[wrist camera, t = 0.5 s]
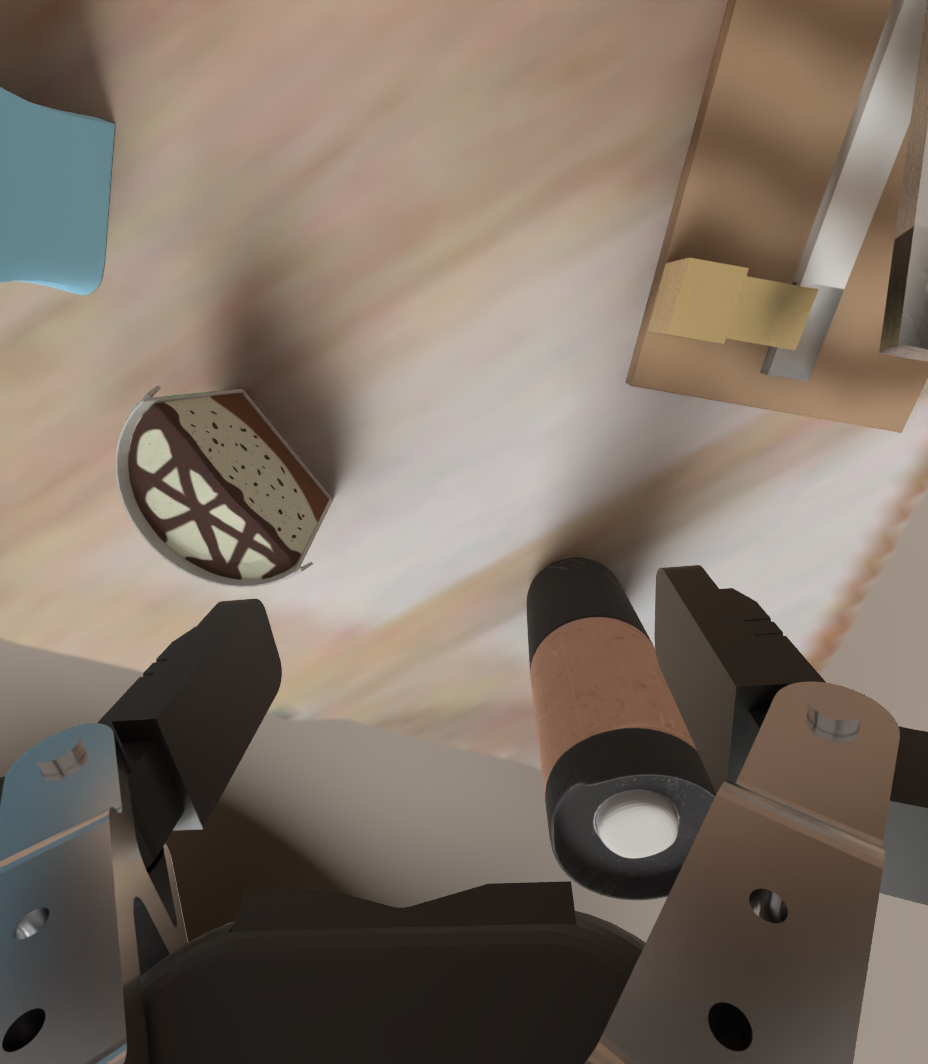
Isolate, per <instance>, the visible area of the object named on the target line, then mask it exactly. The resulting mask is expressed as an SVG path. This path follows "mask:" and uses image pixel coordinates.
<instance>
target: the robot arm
mask: <svg viewBox="0 0 928 1064" xmlns="http://www.w3.org/2000/svg"><path fill="white" fill-rule="evenodd" d="M655 648H656V655H657V659H658V663H659V667H660V669H661V672H662V674H663V676H664V678H665V680H666V683H667V685H668V687H669V689H670V692H671V694H672V696H673V698H674V700H675V703H676V705H677V707H678V709H679V712H680V714H681V716H682V718H683V720H684V723H685V725H686V727H687V729H688V732H689V734H690V736H691V738H692V740H693V743H694V745H695V747H696V749H697V752H698V754H699V756H700V758H701V760H702V763H703V765H704V767H705V769H706V772H707V774H708V776H709V778H710V780H711V783H712V785H713V787H714V789H715V792H716V796H715V798H714V800H713V803H712V805H711V807H710V809H709V811H708V813H707V815H706V817H705V819H704V822H703V824H702V826H701V828H700V830H699V832H698V834H697V836H696V838H695V840H694V843H693V845H692V847H691V849H690V851H689V853H688V855H687V857H686V859H685V862H684V864H683V866H682V868H681V870H680V872H679V874H678V876H677V878H676V881H675V883H674V885H673V887H672V889H671V891H670V893H669V895H668V897H667V899H666V902H665V904H664V906H663V908H662V910H661V912H660V914H659V916H658V919H657V921H656V923H655V925H654V927H653V929H652V931H651V933H650V935H649V938H648V940H647V942H646V943H645V942H643V941H642V940H641V939H639V938H638V937H636V936H635V935H633V934H631V933H629V932H627V931H625V930H623V929H622V928H620V927H618V926H616V925H614V924H612V923H610V922H607V921H605V920H602V919H599V918H597V917H594V916H592V915H589V914H585V913H581V912H577V911H575V910H574V902H573V895H572V887H571V882H538V883H503V884H486V885H483V886H479V887H476V888H472V889H469V890H466V891H462V892H459V893H456V894H452V895H448V896H445V897H442V898H438V899H435V900H432V901H428V902H424V903H421V904H418V905H414V906H411V907H406V908H396V907H391V906H387V905H383V904H380V903H376V902H372V901H368V900H365V899H361V898H357V897H353V896H350V895H346V894H342V893H338V892H334V891H331V890H327V889H291V890H257V891H247V893H246V895H245V898H244V900H243V903H242V905H241V907H240V910H239V912H238V915H237V917H236V920H235V922H232V923H229V924H226V925H224V926H222V927H219V928H217V929H214V930H212V931H209V932H207V933H206V934H204V935H202V936H200V937H198V938H196V939H195V940H192V941H191V942H189V943H188V941H187V936H186V930H185V925H184V920H183V915H182V910H181V905H180V900H179V895H178V890H177V885H176V880H175V875H174V869H173V864H172V859H171V855H170V852H169V850H168V848H167V846H166V844H165V842H166V841H167V839H168V837H169V835H170V834H171V832H172V831H173V830H196V829H203V828H204V827H205V825H206V823H207V821H208V819H209V817H210V815H211V814H212V812H213V810H214V808H215V806H216V804H217V803H218V801H219V799H220V797H221V795H222V793H223V792H224V790H225V788H226V786H227V784H228V782H229V781H230V779H231V777H232V775H233V773H234V771H235V770H236V768H237V766H238V764H239V762H240V761H241V759H242V757H243V755H244V753H245V751H246V749H247V748H248V746H249V744H250V742H251V740H252V738H253V737H254V735H255V733H256V731H257V729H258V727H259V726H260V724H261V722H262V720H263V718H264V716H265V715H266V713H267V711H268V709H269V707H270V705H271V704H272V702H273V700H274V698H275V696H276V694H277V692H278V690H279V687H280V683H281V676H282V669H281V662H280V658H279V654H278V651H277V647H276V644H275V641H274V637H273V634H272V631H271V627H270V624H269V620H268V617H267V614H266V610H265V607H264V605H263V604H262V602H261V601H260V600H258V599H247V600H234V601H222V602H219V603H218V604H216V606H215V607H214V608H213V609H212V610H211V611H210V612H209V613H208V614H207V616H206V617H205V618H204V619H203V620H202V621H201V622H200V623H199V624H198V626H197V627H195V628H193V629H191V630H190V631H188V632H187V633H185V634H184V635H182V636H181V637H179V638H178V639H176V640H175V641H173V642H172V643H171V644H170V645H169V646H168V647H167V648H166V649H165V651H164V652H163V653H162V654H161V655H160V656H159V657H158V658H157V659H156V660H157V662H156V663H152V665H151V666H150V667H149V668H148V669H147V670H146V671H145V672H144V673H143V677H140V678H139V679H138V680H137V681H136V682H135V683H134V684H133V685H132V686H131V687H130V688H129V689H128V690H127V692H126V693H125V694H124V695H123V696H122V697H121V698H120V699H119V700H118V701H117V702H116V703H115V704H114V705H113V707H112V708H111V709H110V710H109V711H108V712H107V713H106V714H105V715H104V716H103V717H102V718H101V720H100V721H99V722H98V723H93V724H84V725H79V726H76V727H72V728H69V729H67V730H64V731H61V732H59V733H57V734H55V735H52V736H51V737H49V738H47V739H45V740H43V741H42V742H40V743H39V744H37V745H35V746H34V747H32V748H31V749H30V750H28V751H27V752H26V753H25V754H23V755H22V756H21V757H20V758H19V759H18V760H17V761H16V762H15V763H14V764H13V765H12V767H11V768H10V769H9V771H8V773H7V774H6V776H5V777H1V778H0V1064H853V1060H854V1052H855V1047H856V1040H857V1034H858V1027H859V1021H860V1015H861V1007H862V1001H863V995H864V989H865V982H866V976H867V969H868V963H869V957H870V950H871V944H872V937H873V931H874V924H875V918H876V911H877V905H878V899H879V893H882V894H886V895H890V896H894V897H898V898H902V899H906V900H910V901H913V902H917V903H921V904H925V905H928V732H925V731H919V730H913V729H908V728H903V727H899V726H898V724H897V722H896V721H895V719H894V718H893V716H892V715H891V714H890V713H889V712H888V711H887V710H886V709H885V708H884V707H882V706H881V705H880V704H879V703H877V702H876V701H874V700H873V699H871V698H869V697H867V696H865V695H863V694H861V693H859V692H856V691H854V690H852V689H849V688H846V687H843V686H839V685H835V684H830V683H826V682H825V681H824V680H823V678H822V677H821V676H820V675H819V674H818V673H817V671H816V670H815V669H814V668H813V667H812V666H811V665H810V663H809V662H808V661H807V660H806V659H805V658H804V656H803V655H802V654H801V653H800V652H799V651H798V649H797V648H796V647H795V646H794V645H793V644H792V643H791V641H790V640H789V639H788V638H787V637H786V636H783V632H782V631H781V630H780V629H779V627H778V626H777V625H776V624H775V623H774V622H771V618H770V617H769V616H768V615H767V614H766V612H765V611H764V610H763V609H762V608H761V607H760V606H759V604H758V603H757V602H756V601H754V600H752V599H751V598H749V597H747V596H745V595H743V594H742V593H740V592H738V591H736V590H735V589H733V588H729V589H719V588H718V587H717V586H716V584H715V583H714V582H713V581H712V579H711V578H710V577H709V575H708V574H707V573H706V571H705V570H704V569H703V568H702V567H701V566H700V565H694V566H682V567H669V568H660V569H659V570H658V572H657V576H656V602H655Z"/></svg>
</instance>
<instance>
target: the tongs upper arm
mask: <svg viewBox="0 0 928 1064" xmlns="http://www.w3.org/2000/svg"><path fill="white" fill-rule="evenodd" d="M879 353H881V354H887V355H893V356H898V357H904V358H910V359H915V360H921V361H927V362H928V0H927V3H926V11H925V18H924V25H923V33H922V40H921V47H920V55H919V62H918V70H917V77H916V84H915V92H914V99H913V107H912V114H911V121H910V129H909V136H908V143H907V151H906V158H905V166H904V173H903V180H902V188H901V195H900V203H899V210H898V217H897V225H896V232H895V239H894V247H893V254H892V262H891V269H890V276H889V284H888V291H887V299H886V306H885V313H884V321H883V328H882V335H881V343H880V350H879Z"/></svg>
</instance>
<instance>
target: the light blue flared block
mask: <svg viewBox="0 0 928 1064" xmlns="http://www.w3.org/2000/svg"><path fill="white" fill-rule="evenodd" d="M114 132H115V124H114V123H111V122H109V121H106V120H103V119H101V118H98V117H93V116H87V115H82V114H76V113H71V112H66V111H61V110H57V109H53V108H49V107H45V106H42V105H38V104H34V103H31V102H29V101H26V100H24V99H22V98H20V97H18V96H16V95H15V94H13V93H11V92H9V91H7V90H5V89H3V88H2V87H0V282H9V281H21V282H29V283H35V284H40V285H45V286H49V287H53V288H57V289H61V290H64V291H68V292H71V293H75V294H79V295H88V294H90V293H92V292H93V291H94V290H95V289H97V288H98V287H99V285H100V283H101V280H102V277H103V271H104V262H105V252H106V239H107V225H108V212H109V199H110V185H111V172H112V159H113V145H114Z"/></svg>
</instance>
